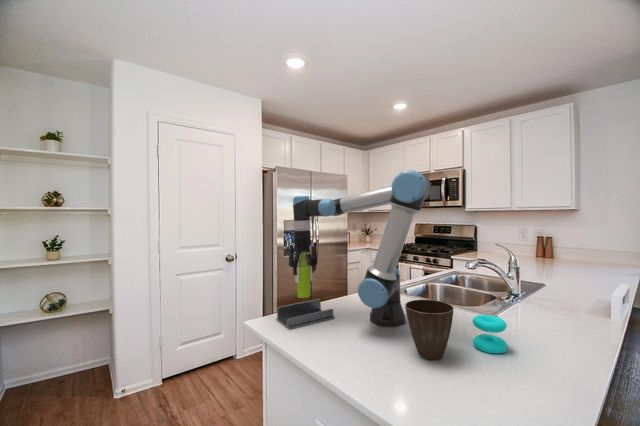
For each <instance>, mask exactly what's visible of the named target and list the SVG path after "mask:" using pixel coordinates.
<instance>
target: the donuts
mask: <svg viewBox="0 0 640 426" xmlns="http://www.w3.org/2000/svg"><path fill="white" fill-rule="evenodd" d="M472 324H473V326H474V327H475V328H476V329H478V330H480V331H481V332H482V331H483V332H484V333H482V334H481V333H480V334H478V335H476V336H475V337H473V341H472V343H473V345H474V346H475V348H477V349H478V350H480V351H481V352H485V353H488V354H496V355H497V354H503V353H505V352H506V351H507V349H508V344H507V342H506V341H505V340H504V339H503V338H501V337H500V336H497V335H495V334H497V333H502V332H504V331H505V330H506V329H507V322H506V321H505V320H504V319H503V318H501V317H498V316H495V315H490V314H479V315H475V316H474V317H473V318H472ZM485 332H486V333H485ZM488 333H490V334H488ZM493 334H494V335H493Z"/></svg>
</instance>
